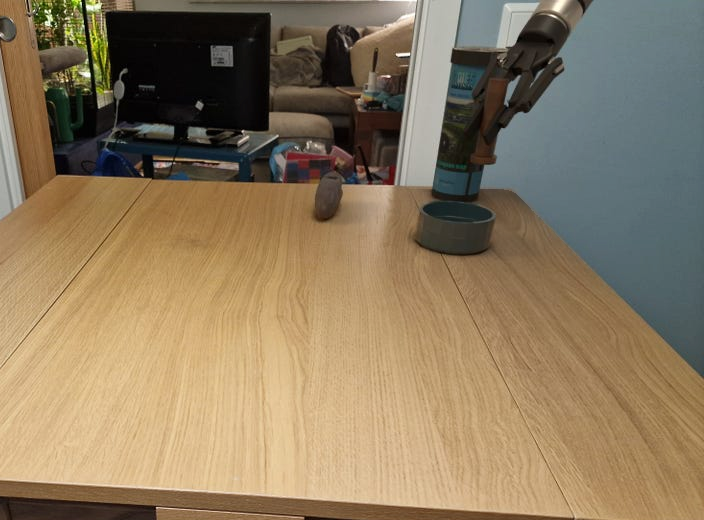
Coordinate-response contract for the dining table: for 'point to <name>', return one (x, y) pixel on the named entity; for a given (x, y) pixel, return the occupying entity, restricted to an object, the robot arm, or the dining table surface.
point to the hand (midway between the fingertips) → (476, 138)
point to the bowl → (455, 227)
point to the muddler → (491, 107)
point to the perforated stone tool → (328, 194)
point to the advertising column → (461, 128)
